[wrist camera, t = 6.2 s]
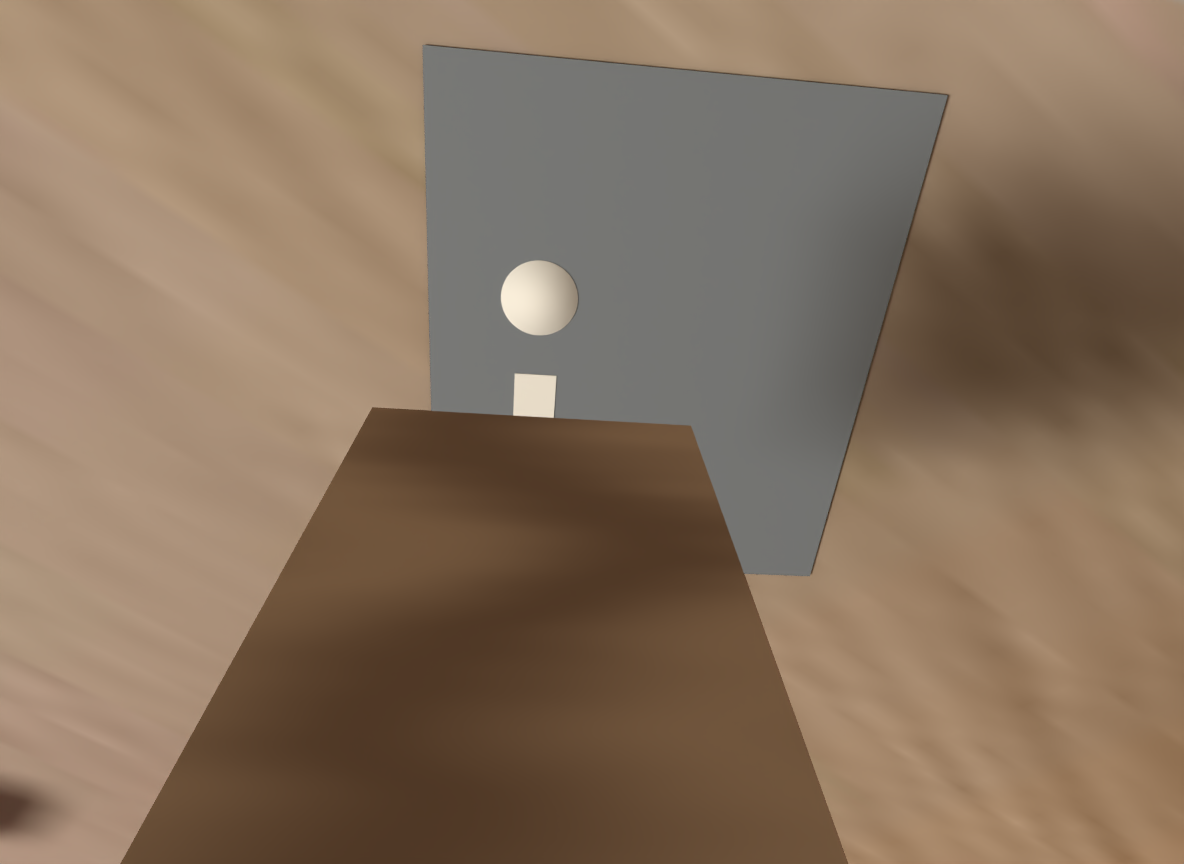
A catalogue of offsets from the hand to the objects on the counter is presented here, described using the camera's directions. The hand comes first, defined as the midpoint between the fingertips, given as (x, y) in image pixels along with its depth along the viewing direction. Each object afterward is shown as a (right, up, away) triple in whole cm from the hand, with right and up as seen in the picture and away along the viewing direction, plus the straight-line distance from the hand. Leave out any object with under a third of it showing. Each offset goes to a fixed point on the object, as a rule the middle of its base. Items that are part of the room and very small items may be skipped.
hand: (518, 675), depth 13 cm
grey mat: (+4, +7, +14) cm, 16 cm away
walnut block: (0, +1, +1) cm, 2 cm away
